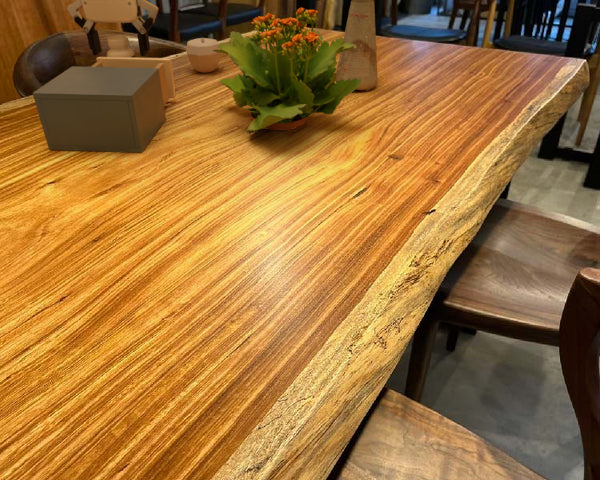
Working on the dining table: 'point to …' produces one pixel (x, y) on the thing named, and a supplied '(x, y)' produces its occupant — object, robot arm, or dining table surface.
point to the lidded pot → (203, 54)
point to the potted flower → (286, 72)
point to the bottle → (360, 46)
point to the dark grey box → (101, 109)
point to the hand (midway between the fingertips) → (121, 54)
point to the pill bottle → (119, 47)
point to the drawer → (160, 63)
